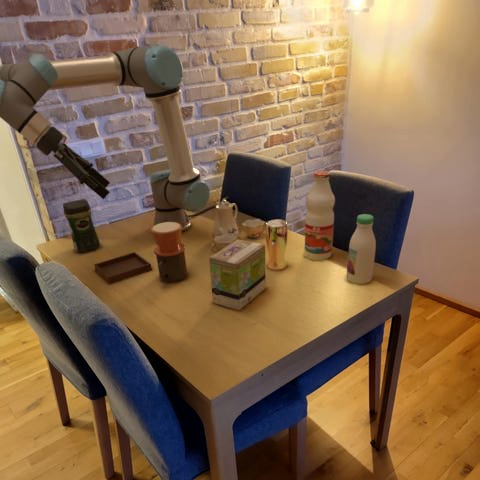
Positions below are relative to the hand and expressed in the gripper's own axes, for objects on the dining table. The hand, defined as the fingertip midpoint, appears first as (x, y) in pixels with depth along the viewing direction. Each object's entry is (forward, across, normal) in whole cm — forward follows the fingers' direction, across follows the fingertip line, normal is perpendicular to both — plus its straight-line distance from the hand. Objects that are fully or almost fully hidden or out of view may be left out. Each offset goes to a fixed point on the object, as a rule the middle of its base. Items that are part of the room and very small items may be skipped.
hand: (107, 190), depth 129 cm
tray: (+22, -8, -18) cm, 30 cm away
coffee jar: (+13, -33, -28) cm, 45 cm away
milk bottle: (+68, +26, +35) cm, 81 cm away
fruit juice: (+64, +5, +32) cm, 72 cm away
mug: (+32, +5, -7) cm, 33 cm away
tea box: (+44, +23, +6) cm, 50 cm away
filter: (+26, +4, -2) cm, 26 cm away
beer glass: (+54, +8, +20) cm, 58 cm away
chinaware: (+48, -17, +14) cm, 52 cm away
